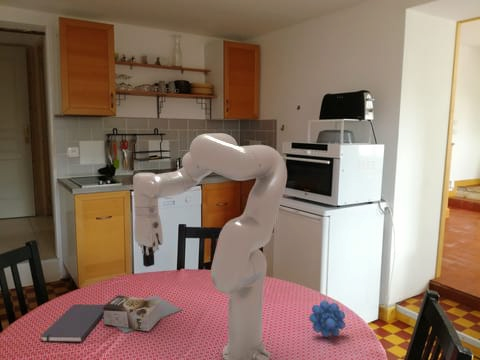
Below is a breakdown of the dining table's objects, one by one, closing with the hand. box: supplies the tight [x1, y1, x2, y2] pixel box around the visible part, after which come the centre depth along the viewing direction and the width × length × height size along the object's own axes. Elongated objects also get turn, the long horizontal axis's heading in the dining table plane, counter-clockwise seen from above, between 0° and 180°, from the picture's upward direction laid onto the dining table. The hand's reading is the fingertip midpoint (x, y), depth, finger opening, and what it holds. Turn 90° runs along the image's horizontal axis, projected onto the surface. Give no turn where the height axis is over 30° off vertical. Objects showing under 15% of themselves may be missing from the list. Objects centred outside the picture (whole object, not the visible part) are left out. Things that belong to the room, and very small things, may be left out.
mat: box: [102, 294, 183, 334], centre depth 137 cm, size 16×22×1 cm
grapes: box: [308, 300, 346, 338], centre depth 122 cm, size 12×7×12 cm, turn 96°
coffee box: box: [103, 294, 162, 332], centre depth 130 cm, size 9×6×16 cm
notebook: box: [40, 304, 105, 343], centre depth 128 cm, size 13×2×21 cm
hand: (148, 265), depth 131 cm, fingers closed
